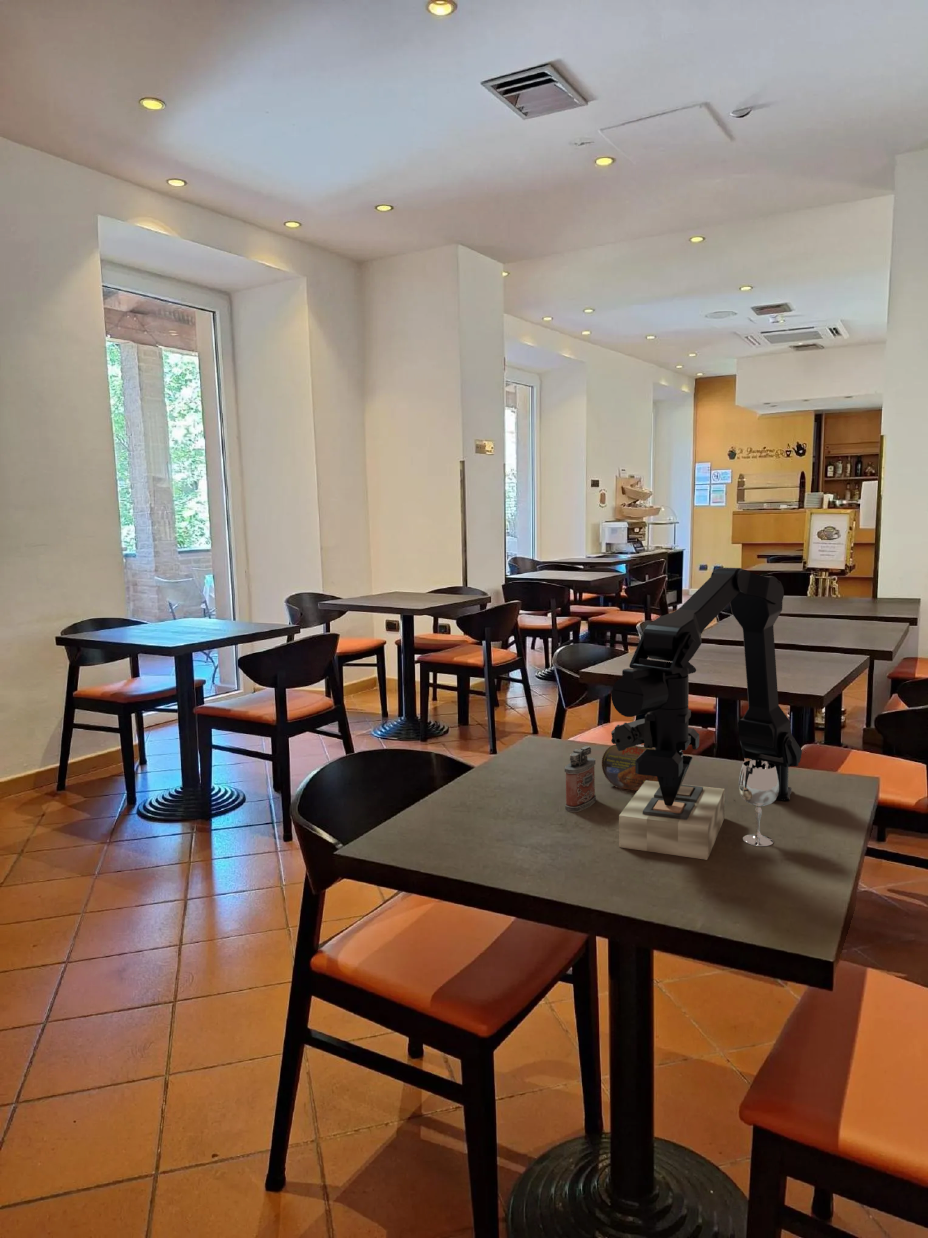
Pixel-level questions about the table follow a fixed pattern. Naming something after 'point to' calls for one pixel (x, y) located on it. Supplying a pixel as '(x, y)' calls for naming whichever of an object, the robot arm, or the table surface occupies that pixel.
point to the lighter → (580, 780)
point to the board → (673, 822)
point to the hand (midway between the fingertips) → (668, 805)
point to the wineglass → (758, 793)
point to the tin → (624, 767)
